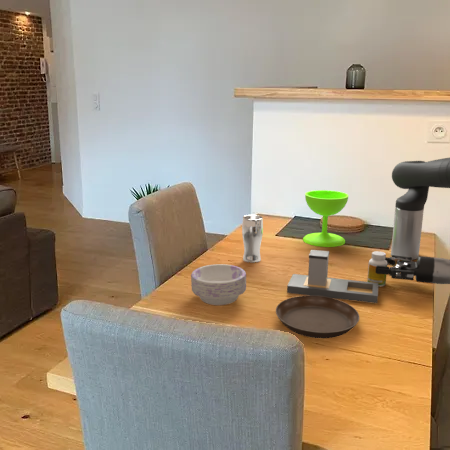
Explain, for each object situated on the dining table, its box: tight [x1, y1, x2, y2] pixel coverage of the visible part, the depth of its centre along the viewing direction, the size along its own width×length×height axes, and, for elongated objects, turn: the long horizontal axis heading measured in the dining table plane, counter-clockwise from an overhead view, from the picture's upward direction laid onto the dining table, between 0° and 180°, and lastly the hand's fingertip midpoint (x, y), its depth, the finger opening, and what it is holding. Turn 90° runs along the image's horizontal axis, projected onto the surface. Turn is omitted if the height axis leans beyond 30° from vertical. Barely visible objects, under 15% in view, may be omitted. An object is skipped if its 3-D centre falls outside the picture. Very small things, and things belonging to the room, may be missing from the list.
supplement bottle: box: [366, 250, 388, 288], centre depth 157 cm, size 5×5×10 cm
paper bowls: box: [190, 263, 247, 306], centre depth 145 cm, size 15×15×8 cm
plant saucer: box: [275, 295, 360, 339], centre depth 132 cm, size 21×21×3 cm
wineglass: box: [302, 189, 349, 248], centre depth 198 cm, size 16×16×18 cm
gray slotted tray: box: [286, 249, 379, 304], centre depth 151 cm, size 10×25×11 cm, turn 73°
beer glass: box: [241, 214, 264, 264], centre depth 176 cm, size 7×7×15 cm
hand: (376, 264), depth 157 cm, fingers open, 8 cm apart
